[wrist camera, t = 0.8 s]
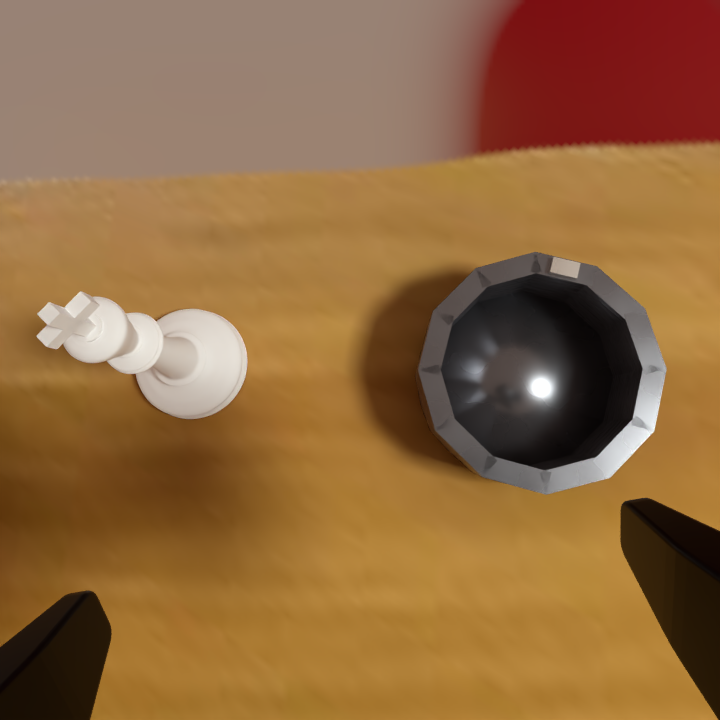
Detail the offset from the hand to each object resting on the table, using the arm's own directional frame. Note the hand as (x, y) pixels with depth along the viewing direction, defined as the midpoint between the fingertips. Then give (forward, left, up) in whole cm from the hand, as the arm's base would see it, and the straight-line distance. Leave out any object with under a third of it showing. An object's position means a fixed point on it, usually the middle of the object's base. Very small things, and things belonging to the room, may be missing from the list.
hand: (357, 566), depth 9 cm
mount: (+6, -5, -13) cm, 15 cm away
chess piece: (+3, +9, -14) cm, 17 cm away
